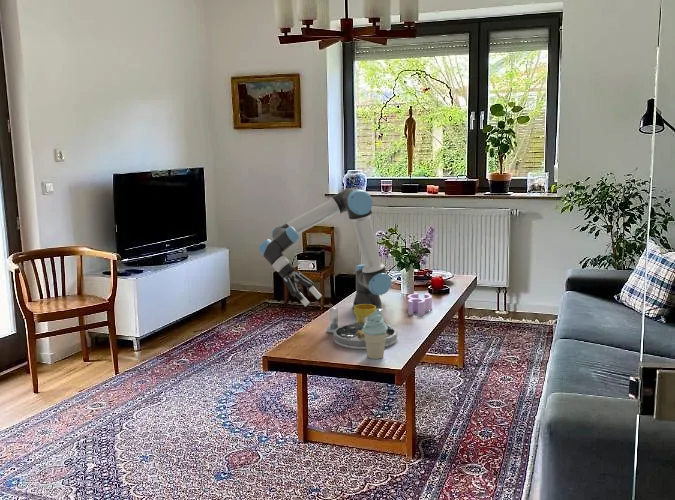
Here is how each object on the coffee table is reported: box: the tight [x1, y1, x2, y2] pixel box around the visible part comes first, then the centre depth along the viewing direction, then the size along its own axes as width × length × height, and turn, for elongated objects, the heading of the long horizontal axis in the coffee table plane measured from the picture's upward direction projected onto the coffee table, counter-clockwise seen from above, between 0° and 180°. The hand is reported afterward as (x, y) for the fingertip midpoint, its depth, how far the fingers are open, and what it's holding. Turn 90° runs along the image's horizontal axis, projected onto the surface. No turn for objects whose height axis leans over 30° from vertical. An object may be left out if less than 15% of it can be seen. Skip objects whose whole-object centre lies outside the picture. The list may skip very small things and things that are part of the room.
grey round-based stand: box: [326, 307, 340, 334], centre depth 310 cm, size 7×7×11 cm
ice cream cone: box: [362, 309, 388, 360], centre depth 273 cm, size 10×11×20 cm
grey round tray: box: [333, 308, 398, 351], centre depth 296 cm, size 28×28×12 cm
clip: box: [407, 292, 433, 316], centre depth 343 cm, size 20×12×7 cm, turn 163°
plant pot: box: [353, 304, 376, 323], centre depth 316 cm, size 10×10×10 cm
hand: (313, 301), depth 312 cm, fingers open, 13 cm apart
